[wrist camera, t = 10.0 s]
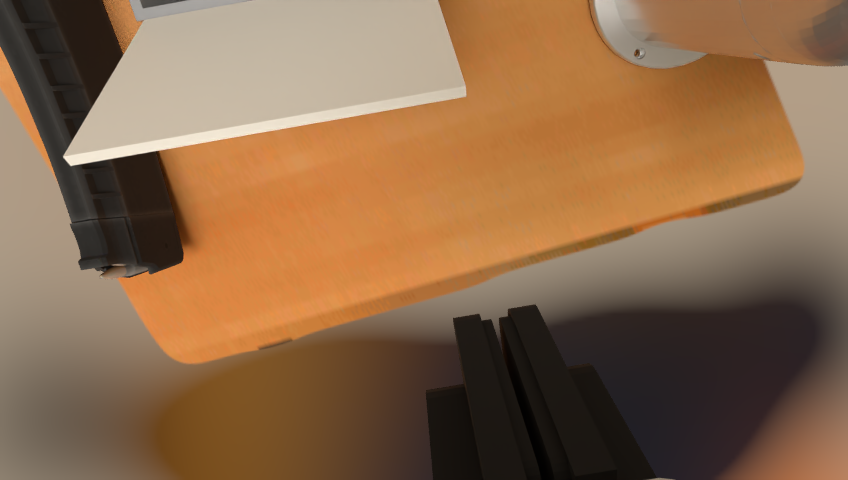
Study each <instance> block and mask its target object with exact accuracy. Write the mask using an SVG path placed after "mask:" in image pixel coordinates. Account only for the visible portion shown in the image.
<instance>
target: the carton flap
mask: <svg viewBox="0 0 848 480" xmlns="http://www.w3.org/2000/svg"><path fill="white" fill-rule="evenodd" d="M462 97H467V96H466V85H465V82H464V79H463V76H462V73H461V70H460V67H459V63H458V60H457V57H456V54H455V51H454V48H453V45H452V42H451V39H450V36H449V32H448V29H447V26H446V23H445V20H444V17H443V14H442V11H441V8H440V5H439V1H438V0H252V1H247V2H241V3H235V4H230V5H224V6H219V7H213V8H208V9H202V10H196V11H191V12H185V13H180V14H174V15H169V16H163V17H157V18H152V19H146V20H144V21H143V23H142V25H141V26H140V28H139V30H138V31H137V33H136V35H135V36H134V38H133V40H132V41H131V43H130V45H129V46H128V48H127V50H126V51H125V53H124V55H123V56H122V58H121V60H120V62H119V63H118V65H117V67H116V68H115V70H114V72H113V73H112V75H111V77H110V78H109V80H108V82H107V83H106V85H105V87H104V88H103V90H102V92H101V93H100V95H99V97H98V98H97V100H96V102H95V104H94V105H93V107H92V109H91V110H90V112H89V114H88V115H87V117H86V119H85V120H84V122H83V124H82V125H81V127H80V129H79V130H78V132H77V134H76V135H75V137H74V139H73V140H72V142H71V144H70V146H69V147H68V149H67V151H66V152H65V154H64V156H63V157H64V159H65V160H66V161H67V162H68V163H69V165H70V166H73V165H79V164H85V163H90V162H96V161H102V160H107V159H113V158H119V157H125V156H130V155H136V154H142V153H147V152H153V151H159V150H165V149H170V148H176V147H182V146H187V145H193V144H199V143H205V142H210V141H216V140H222V139H227V138H233V137H239V136H245V135H250V134H256V133H262V132H267V131H273V130H279V129H285V128H290V127H296V126H302V125H307V124H313V123H319V122H324V121H330V120H336V119H342V118H347V117H353V116H359V115H364V114H370V113H376V112H382V111H387V110H393V109H399V108H404V107H410V106H416V105H422V104H427V103H433V102H439V101H444V100H450V99H456V98H462Z"/></svg>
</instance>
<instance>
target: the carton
mask: <svg viewBox="0 0 848 480" xmlns="http://www.w3.org/2000/svg"><path fill="white" fill-rule="evenodd" d="M129 1H130V4H131V7H132V10H133V12H134V15H135V18H136V20H137V21H144V20H146V19H152V18H157V17H163V16H169V15H174V14H180V13H185V12H191V11H196V10H202V9H208V8H213V7H219V6H224V5H230V4H235V3H241V2H247V1H252V0H129Z"/></svg>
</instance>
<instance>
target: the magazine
mask: <svg viewBox="0 0 848 480" xmlns="http://www.w3.org/2000/svg"><path fill="white" fill-rule="evenodd" d="M0 46H1V48H2V50H3V52H4V55H5V57H6V59H7V61H8V63H9V65H10V67H11V69H12V71H13V74H14V76H15V78H16V80H17V82H18V84H19V87H20V89H21V91H22V93H23V96H24V98H25V100H26V103H27V105H28V107H29V110H30V112H31V115H32V117H33V119H34V122H35V124H36V126H37V129H38V131H39V134H40V136H41V139H42V141H43V143H44V146H45V148H46V151H47V153H48V156H49V159H50V162H51V164H52V167H53V170H54V172H55V175H56V178H57V181H58V184H59V186H60V189H61V192H62V195H63V198H64V201H65V204H66V207H67V209H68V213H69V216H70V218H71V222H72V224H70V226H71V229H72V231H73V233H74V235H75V238H76V240H77V243H78V246H79V249H80V254H81V259H80V260H79V261H78V263H79V265H80V268H81V270H84V269H91V268H95V269H96V270H97V271H100V270H101V271H103V272H104V273H102V274H101V275H100V278H101V279H113V278H119V277H126V278H130V277H133V276H136V275H139V274H141V273H144V272H147V271H149V274H153V273H156V272H158V271H161V270H164V269H166V268H169V267H172V266H175V265H177V264H179V263H181V262H182V261H183V249H182V244H181V240H180V236H179V232H178V228H177V224H176V219H175V215H174V212H173V210H172V206H171V202H170V199H169V195H168V191H167V188H166V185H165V181H164V178H163V174H162V171H161V168H160V164H159V161H158V158H157V154H156V151H153V152H147V153H142V154H136V155H130V156H125V157H119V158H113V159H107V160H102V161H96V162H90V163H85V164H79V165H73V166H70V165H69V163H68V162H67V161H66V160H65V159H64V157H63V156H64V154H65V152H66V151H67V149H68V147H69V146H70V144H71V142H72V140H73V139H74V137H75V135H76V134H77V132H78V130H79V129H80V127H81V125H82V124H83V122H84V120H85V119H86V117H87V115H88V114H89V112H90V110H91V109H92V107H93V105H94V104H95V102H96V100H97V98H98V97H99V95H100V93H101V92H102V90H103V88H104V87H105V85H106V83H107V82H108V80H109V78H110V77H111V75H112V73H113V72H114V70H115V68H116V67H117V65H118V63H119V62H120V60H121V58H122V56H123V54H122V51H121V49H120V46H119V43H118V41H117V38H116V36H115V33H114V31H113V28H112V26H111V23H110V20H109V18H108V15H107V13H106V11H105V8H104V6H103V3H102V1H101V0H0Z"/></svg>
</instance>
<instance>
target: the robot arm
mask: <svg viewBox="0 0 848 480" xmlns="http://www.w3.org/2000/svg"><path fill="white" fill-rule="evenodd" d="M589 3H590V10H591V15H592V18H593V21H594V24H595V27H596V29H597V31H598V33H599V35H600V36H601V38H602V40H603V41H604V43H605V44H606V45H607V46H608V47H609V48H610V49H611V50H612V51H613V52H614V53H615V54H616V55H618V56H619V57H621V58H622V59H624V60H625V61H627V62H630V63H633V64H635V65H638V66H642V67H647V68H655V69H668V68H674V67H679V66H683V65H686V64H689V63H691V62H694V61H697V60H698V59H700V58H702V57H703V56H705V55H707V54H709V53H710V54H718V55H727V56H735V57H744V58H752V59H761V60H769V61H777V62H786V63H794V64H806V65H816V66H845V65H848V0H589ZM636 50H637V51H638V53H637V55H636V56H634V53H635V51H636ZM453 322H454V329H455V335H456V341H457V347H458V353H459V359H460V365H461V371H462V377H463V384H461V385H455V386H449V387H443V388H437V389H431V390H426V400H427V410H428V411H427V412H428V423H429V435H430V446H431V459H432V471H433V480H673V479H663V478H657V477H656V476H655V474H654V472H653V470H652V468H651V467H650V465H649V463H648V461H647V460H646V458H645V456H644V454H643V453H642V451H641V449H640V447H639V446H638V444H637V442H636V440H635V438H634V437H633V435H632V433H631V431H630V430H629V428H628V426H627V425H626V423H625V421H624V419H623V417H622V416H621V414H620V412H619V410H618V409H617V407H616V405H615V403H614V402H613V400H612V398H611V396H610V395H609V393H608V391H607V389H606V388H605V386H604V384H603V382H602V380H601V379H600V377H599V375H598V373H597V372H596V370H595V369H594V367H593V366H592V365H591V364H589V363H588V364H582V365H576V366H570V367H566V364H565V362H564V361H563V358H562V356H561V354H560V353H559V350H558V348H557V346H556V344H555V342H554V340H553V338H552V336H551V334H550V332H549V330H548V328H547V326H546V324H545V322H544V320H543V318H542V316H541V314H540V312H539V310H538V308H537V306H536V305H529V306H523V307H517V308H511V309H508V316H507V317H501V318H499V325H500V333H501V342H502V351H503V354H502V351H501V348H500V345H499V342H498V339H497V335H496V332H495V329H494V326H493V323H492V320H491V319H490V320H483V321H481V317H480V315H479V314H475V315H469V316H463V317H458V318H453Z"/></svg>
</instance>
